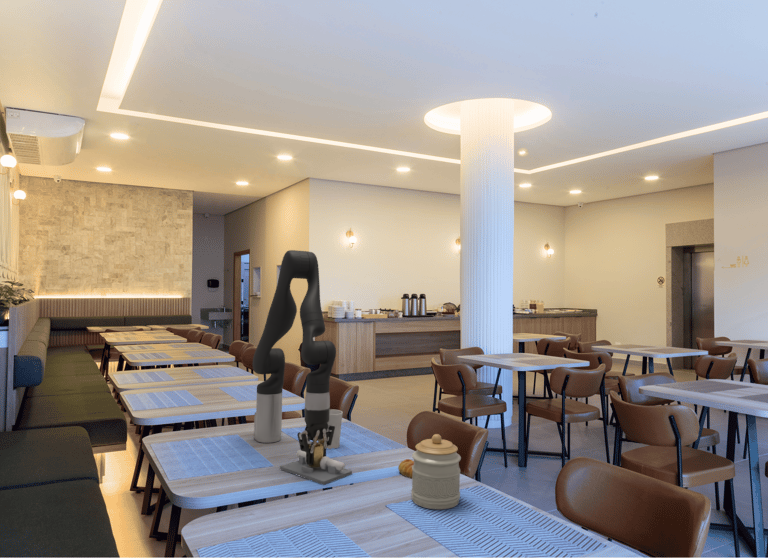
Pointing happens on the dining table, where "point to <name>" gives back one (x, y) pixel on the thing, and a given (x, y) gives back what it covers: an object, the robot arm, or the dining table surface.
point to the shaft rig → (317, 469)
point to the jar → (436, 474)
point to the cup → (336, 421)
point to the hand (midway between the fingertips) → (315, 462)
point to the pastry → (406, 468)
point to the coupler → (317, 454)
